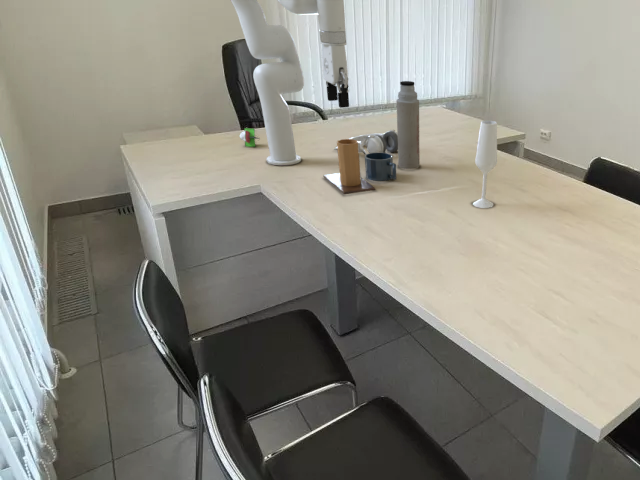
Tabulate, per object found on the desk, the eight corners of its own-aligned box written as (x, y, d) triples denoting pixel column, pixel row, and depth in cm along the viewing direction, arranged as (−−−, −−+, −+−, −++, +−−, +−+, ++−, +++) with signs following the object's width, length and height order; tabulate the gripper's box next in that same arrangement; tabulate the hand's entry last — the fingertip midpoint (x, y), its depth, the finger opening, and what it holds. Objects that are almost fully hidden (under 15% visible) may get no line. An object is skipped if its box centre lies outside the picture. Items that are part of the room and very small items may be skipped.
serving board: (323, 178, 186) (323, 175, 186) (352, 174, 191) (352, 171, 190) (344, 196, 173) (343, 192, 172) (375, 191, 178) (374, 187, 177)
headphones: (410, 148, 217) (371, 146, 228) (408, 128, 213) (368, 126, 224) (374, 160, 203) (334, 157, 214) (371, 138, 199) (330, 136, 210)
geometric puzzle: (247, 136, 219) (239, 122, 211) (263, 137, 218) (255, 123, 211) (244, 151, 217) (235, 137, 210) (260, 152, 217) (251, 138, 209)
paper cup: (338, 181, 181) (334, 140, 172) (356, 178, 183) (353, 138, 175) (345, 187, 176) (341, 145, 168) (363, 184, 179) (360, 143, 171)
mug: (360, 178, 188) (358, 155, 183) (380, 172, 194) (379, 150, 189) (386, 186, 181) (385, 163, 177) (405, 180, 187) (405, 158, 182)
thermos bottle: (421, 165, 202) (421, 80, 184) (416, 171, 196) (415, 84, 178) (401, 163, 203) (399, 79, 186) (395, 169, 197) (393, 82, 179)
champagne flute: (478, 209, 167) (483, 125, 152) (469, 202, 172) (473, 120, 157) (497, 206, 170) (504, 124, 154) (487, 199, 174) (493, 119, 159)
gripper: (311, 34, 159) (317, 98, 170) (331, 42, 148) (336, 110, 159) (334, 34, 162) (339, 97, 173) (356, 42, 151) (360, 109, 162)
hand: (338, 103), depth 166 cm, fingers open, 9 cm apart
